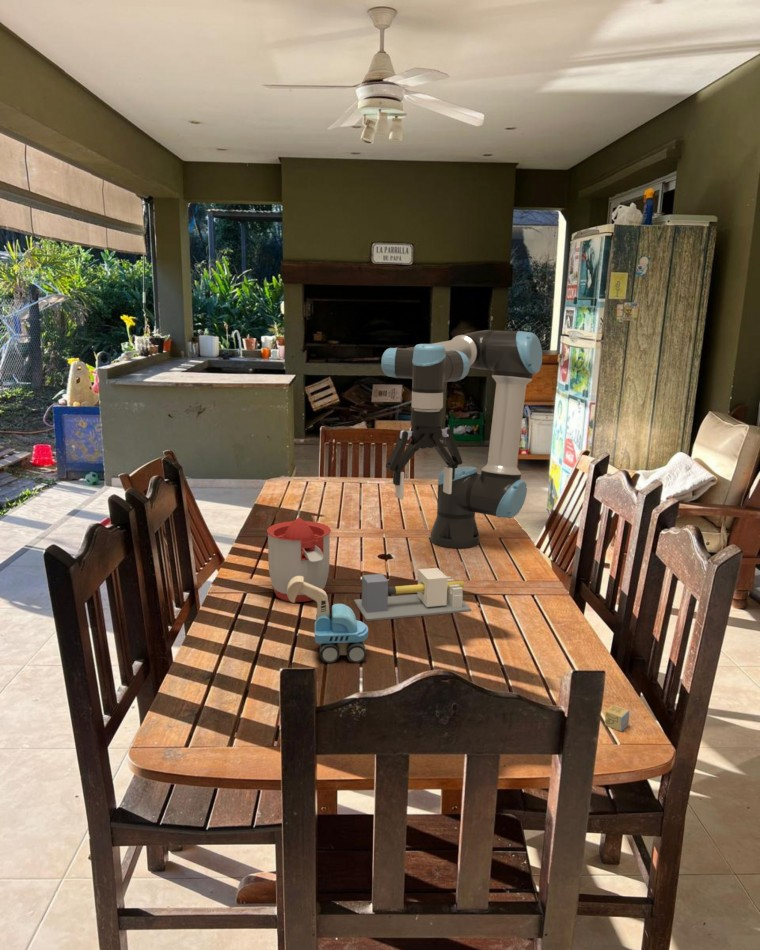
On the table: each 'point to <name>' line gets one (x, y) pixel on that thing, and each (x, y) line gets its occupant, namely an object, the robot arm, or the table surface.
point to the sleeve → (433, 587)
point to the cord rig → (404, 599)
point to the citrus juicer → (298, 555)
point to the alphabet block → (617, 718)
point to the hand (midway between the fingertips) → (423, 495)
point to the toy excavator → (332, 624)
